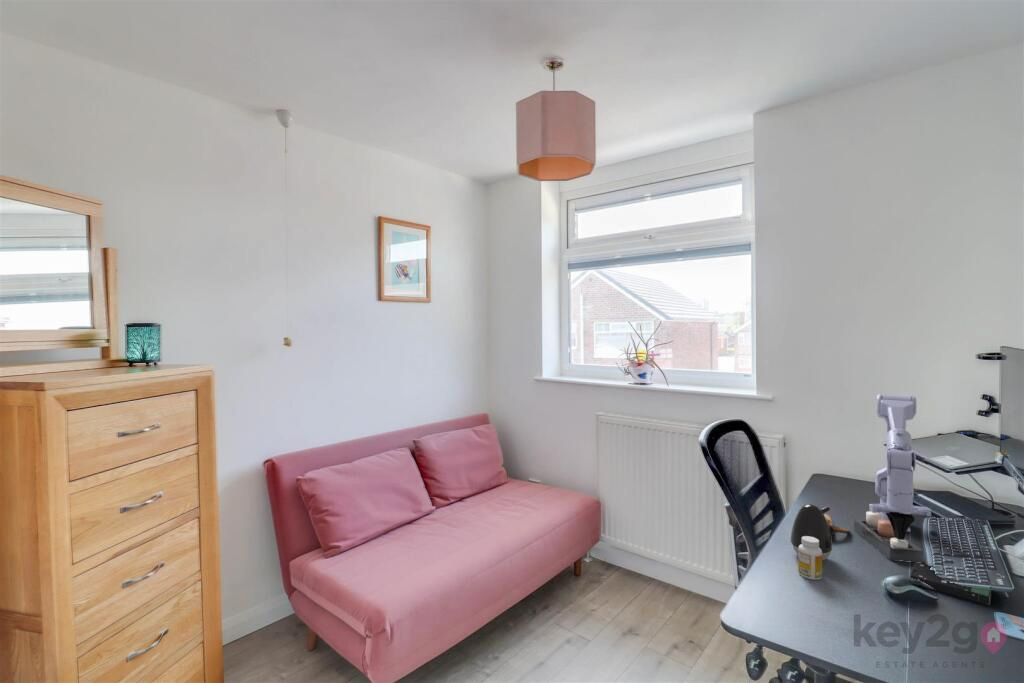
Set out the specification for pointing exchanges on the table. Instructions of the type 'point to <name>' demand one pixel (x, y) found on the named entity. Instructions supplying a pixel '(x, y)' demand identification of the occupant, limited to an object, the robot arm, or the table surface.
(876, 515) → the knob
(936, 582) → the disk drive
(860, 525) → the panel
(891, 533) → the brown egg
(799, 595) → the table surface
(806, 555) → the supplement bottle
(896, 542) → the knob
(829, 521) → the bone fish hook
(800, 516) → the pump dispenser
